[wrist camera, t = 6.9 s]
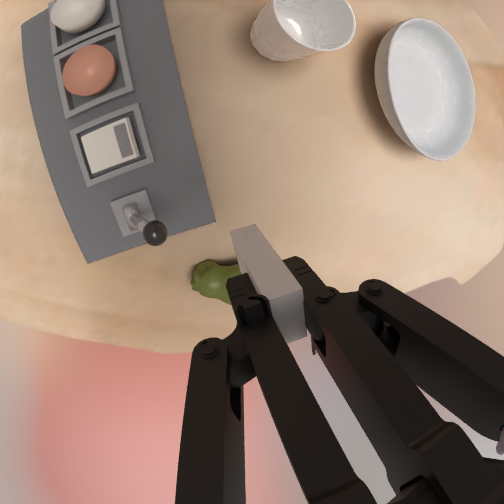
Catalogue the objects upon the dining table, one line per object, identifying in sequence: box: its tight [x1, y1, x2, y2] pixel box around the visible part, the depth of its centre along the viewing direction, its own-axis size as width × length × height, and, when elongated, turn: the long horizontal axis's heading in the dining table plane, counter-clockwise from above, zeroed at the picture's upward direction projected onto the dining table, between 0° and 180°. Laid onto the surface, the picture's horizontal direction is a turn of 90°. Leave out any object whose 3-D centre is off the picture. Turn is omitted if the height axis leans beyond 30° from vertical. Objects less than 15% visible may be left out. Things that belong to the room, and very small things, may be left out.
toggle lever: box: [122, 203, 168, 246], centre depth 23 cm, size 2×2×8 cm
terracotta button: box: [62, 45, 118, 97], centre depth 18 cm, size 5×5×3 cm
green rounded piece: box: [191, 260, 242, 305], centre depth 36 cm, size 6×5×10 cm
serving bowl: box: [374, 18, 476, 161], centre depth 28 cm, size 21×21×7 cm
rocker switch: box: [81, 117, 140, 174], centre depth 22 cm, size 5×4×1 cm
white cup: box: [250, 0, 356, 62], centre depth 20 cm, size 8×8×10 cm
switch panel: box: [21, 0, 216, 264], centre depth 22 cm, size 16×31×5 cm, turn 12°
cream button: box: [51, 0, 105, 34], centre depth 13 cm, size 5×5×3 cm
